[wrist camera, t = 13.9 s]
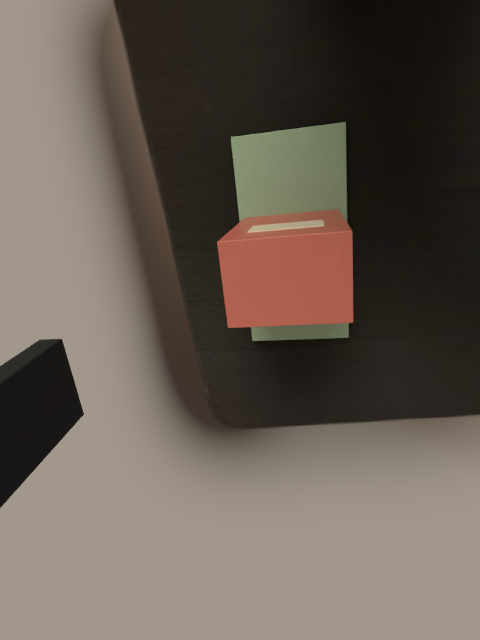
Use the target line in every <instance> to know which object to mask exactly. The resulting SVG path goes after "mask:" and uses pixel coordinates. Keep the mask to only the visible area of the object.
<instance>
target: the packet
mask: <svg viewBox="0 0 480 640" xmlns="http://www.w3.org/2000/svg"><path fill="white" fill-rule="evenodd" d="M217 245H218V253H219V261H220V269H221V277H222V284H223V292H224V300H225V308H226V316H227V323H228V328H241V327H265V326H289V325H314V324H338V323H353V235H352V230H351V228H350V227H349V225H348V223H347V222H346V220H345V219H344V217H343V215H342V214H341V212H340V211H339V209H334V210H323V211H312V212H301V213H291V214H280V215H269V216H258V217H248V218H244V219H243V220H242V221H241V222H240V223H238V224H237V225H236V226H235V227H234V228H233V229H231V230H230V231H229V232H228V233H227V234H226V235H225V236H223V237H222V238H221V239H220V240H219V241H218V242H217Z"/></svg>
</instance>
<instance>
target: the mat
mask: <svg viewBox="0 0 480 640" xmlns="http://www.w3.org/2000/svg"><path fill="white" fill-rule="evenodd" d="M231 145H232V154H233V164H234V173H235V182H236V192H237V201H238V211H239V220H240V222H241V221H242V220H243V219H244V218H248V217H258V216H269V215H280V214H291V213H301V212H312V211H323V210H334V209H339V211H340V212H341V214H342V215H343V217H344V219H345V220H346V222H347V170H346V122H342V123H335V124H327V125H319V126H312V127H304V128H297V129H289V130H282V131H274V132H266V133H259V134H251V135H244V136H236V137H231ZM251 333H252V341H268V340H297V339H326V338H349V323H338V324H314V325H289V326H265V327H251Z"/></svg>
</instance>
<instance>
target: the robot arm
mask: <svg viewBox="0 0 480 640" xmlns="http://www.w3.org/2000/svg"><path fill="white" fill-rule="evenodd" d="M83 415H84V413H83V410H82V407H81V403H80V400H79V396H78V393H77V389H76V386H75V383H74V379H73V376H72V372H71V369H70V366H69V362H68V359H67V355H66V352H65V348H64V345H63V341H62V339H49V340H39V341H37V342H36V343H34V344H33V345H31V346H30V347H29V348H27V349H25V350H24V351H23V352H21V353H20V354H18V355H16V356H15V357H13V358H12V359H11V360H9V361H8V362H6V363H4V364H3V365H2V366H0V507H1V506H2V505H3V504H4V503H5V502H6V501H7V500H8V499H9V498H10V496H11V495H12V494H13V493H14V492H15V491H16V490H17V489H18V487H19V486H20V485H21V484H22V483H23V482H24V481H25V480H26V478H27V477H28V476H29V475H30V474H31V473H32V472H33V471H34V470H35V468H36V467H37V466H38V465H39V464H40V463H41V462H42V461H43V459H44V458H45V457H46V456H47V455H48V454H49V453H50V451H51V450H52V449H53V448H54V447H55V446H56V445H57V444H58V443H59V442H60V440H61V439H62V438H63V437H64V436H65V435H66V434H67V433H68V431H69V430H70V429H71V428H72V427H73V426H74V425H75V424H76V422H77V421H78V420H79V419H80V418H81V417H82V416H83Z"/></svg>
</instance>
